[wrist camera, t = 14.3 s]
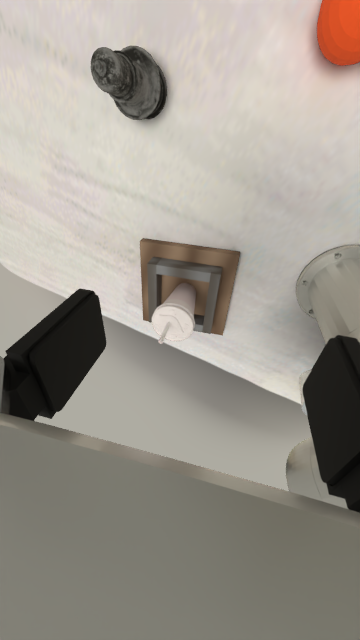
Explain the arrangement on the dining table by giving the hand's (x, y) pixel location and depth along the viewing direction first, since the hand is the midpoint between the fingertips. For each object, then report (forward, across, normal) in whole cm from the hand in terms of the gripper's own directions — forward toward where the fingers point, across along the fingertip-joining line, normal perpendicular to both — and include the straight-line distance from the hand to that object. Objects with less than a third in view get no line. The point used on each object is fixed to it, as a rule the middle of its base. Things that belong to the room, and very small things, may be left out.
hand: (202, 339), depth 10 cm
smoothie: (+29, +6, +15) cm, 33 cm away
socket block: (+30, +6, +15) cm, 34 cm away
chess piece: (+31, +13, -11) cm, 35 cm away
